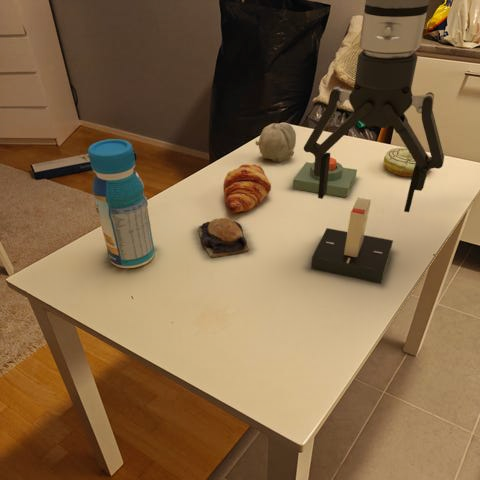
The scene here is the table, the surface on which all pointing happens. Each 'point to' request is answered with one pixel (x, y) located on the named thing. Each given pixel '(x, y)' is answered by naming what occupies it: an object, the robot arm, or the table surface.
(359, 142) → the table surface
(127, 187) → the beverage bottle
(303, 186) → the button housing
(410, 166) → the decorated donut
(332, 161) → the button
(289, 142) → the grey rounded lump
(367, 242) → the dial panel
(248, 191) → the croissant
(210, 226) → the chocolate dessert
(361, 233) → the knob
